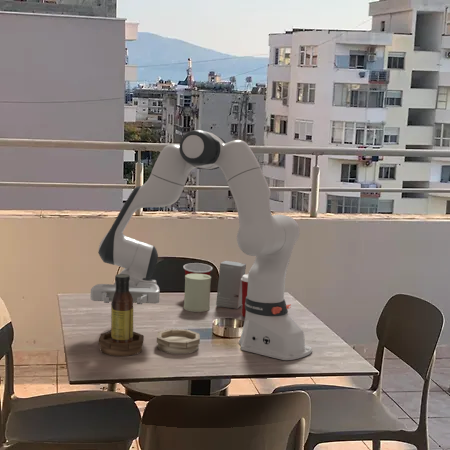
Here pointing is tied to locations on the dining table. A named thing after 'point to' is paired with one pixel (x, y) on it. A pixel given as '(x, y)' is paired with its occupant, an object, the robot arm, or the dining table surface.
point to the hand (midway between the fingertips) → (122, 300)
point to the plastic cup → (197, 268)
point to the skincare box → (230, 284)
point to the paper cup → (244, 292)
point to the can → (197, 292)
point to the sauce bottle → (122, 311)
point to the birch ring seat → (178, 341)
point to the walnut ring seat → (120, 345)
